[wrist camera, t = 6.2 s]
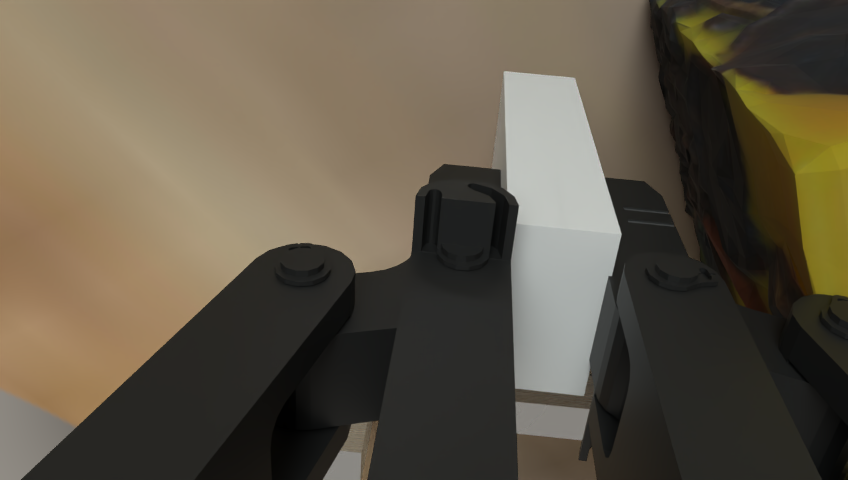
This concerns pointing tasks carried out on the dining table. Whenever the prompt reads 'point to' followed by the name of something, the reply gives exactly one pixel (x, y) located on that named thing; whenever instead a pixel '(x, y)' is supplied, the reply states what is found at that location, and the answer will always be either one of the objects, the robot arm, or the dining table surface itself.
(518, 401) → the rail track
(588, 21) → the dining table surface
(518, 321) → the robot arm
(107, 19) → the dining table surface
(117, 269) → the dining table surface
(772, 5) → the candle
